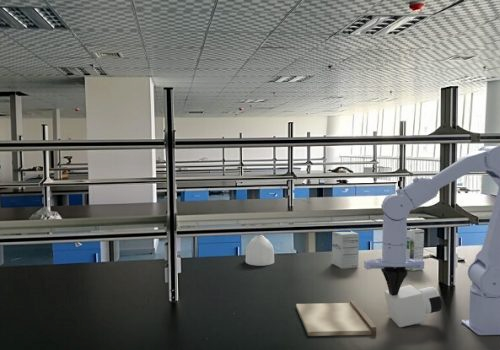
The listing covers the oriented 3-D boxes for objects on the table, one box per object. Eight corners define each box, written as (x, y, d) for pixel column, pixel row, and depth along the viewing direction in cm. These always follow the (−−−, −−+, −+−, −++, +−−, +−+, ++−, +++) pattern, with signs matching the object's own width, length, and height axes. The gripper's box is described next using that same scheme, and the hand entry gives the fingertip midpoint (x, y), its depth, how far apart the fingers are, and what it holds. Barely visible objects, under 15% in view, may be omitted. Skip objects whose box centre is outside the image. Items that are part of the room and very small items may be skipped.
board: (354, 306, 120) (354, 300, 120) (376, 334, 102) (376, 327, 102) (296, 307, 119) (296, 301, 119) (308, 336, 101) (308, 328, 101)
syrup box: (399, 267, 159) (400, 228, 158) (411, 265, 161) (412, 226, 160) (411, 271, 153) (412, 230, 152) (423, 269, 156) (424, 229, 155)
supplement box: (331, 263, 163) (331, 230, 163) (348, 262, 166) (349, 229, 165) (340, 269, 156) (341, 234, 156) (359, 267, 159) (359, 233, 158)
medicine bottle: (389, 316, 113) (434, 306, 113) (399, 328, 105) (447, 317, 106) (383, 290, 112) (429, 280, 112) (393, 300, 105) (442, 289, 105)
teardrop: (239, 261, 167) (239, 230, 166) (261, 256, 174) (261, 227, 174) (258, 267, 159) (258, 234, 158) (280, 262, 166) (280, 231, 165)
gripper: (416, 239, 112) (414, 291, 113) (360, 239, 111) (359, 291, 112) (428, 245, 105) (427, 300, 106) (369, 246, 104) (368, 301, 105)
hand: (393, 296), depth 109 cm, fingers closed
